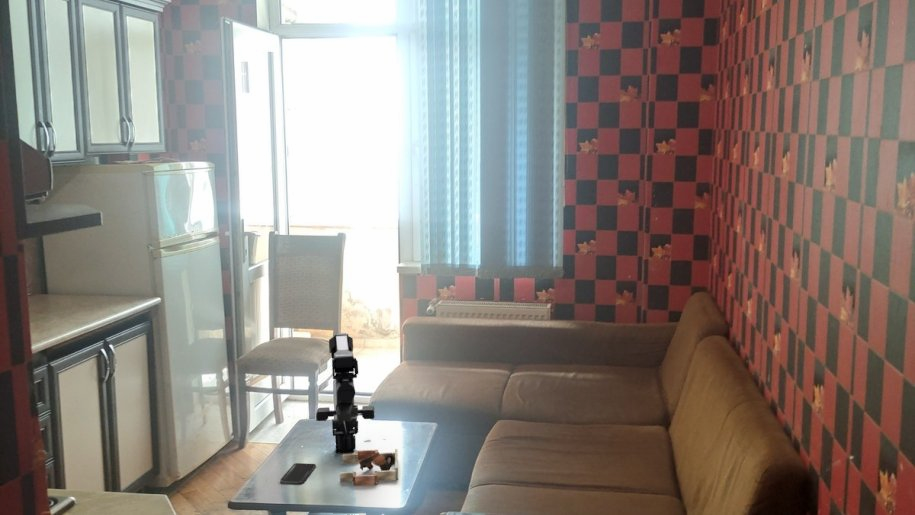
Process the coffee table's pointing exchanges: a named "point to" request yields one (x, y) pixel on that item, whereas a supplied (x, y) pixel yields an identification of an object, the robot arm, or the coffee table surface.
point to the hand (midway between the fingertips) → (346, 438)
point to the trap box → (368, 478)
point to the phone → (298, 473)
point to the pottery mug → (378, 461)
